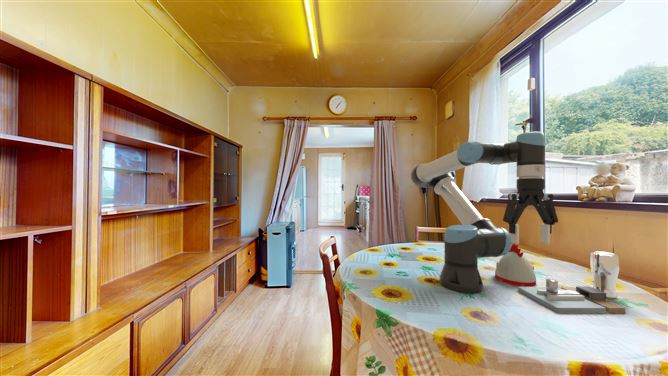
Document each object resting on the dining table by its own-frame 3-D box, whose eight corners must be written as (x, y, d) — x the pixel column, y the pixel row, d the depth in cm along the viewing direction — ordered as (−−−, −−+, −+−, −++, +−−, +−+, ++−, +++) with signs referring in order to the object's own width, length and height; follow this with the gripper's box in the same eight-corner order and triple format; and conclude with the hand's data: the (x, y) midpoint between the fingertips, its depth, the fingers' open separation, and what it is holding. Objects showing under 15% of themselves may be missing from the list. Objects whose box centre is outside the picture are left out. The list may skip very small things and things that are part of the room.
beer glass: (625, 300, 84) (625, 256, 84) (601, 298, 85) (601, 255, 85) (607, 291, 91) (607, 251, 91) (585, 290, 92) (585, 250, 92)
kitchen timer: (518, 274, 109) (518, 240, 109) (545, 286, 95) (545, 248, 95) (487, 274, 109) (487, 241, 109) (511, 286, 95) (511, 248, 95)
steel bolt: (551, 297, 81) (551, 281, 81) (543, 293, 84) (543, 278, 84) (581, 297, 81) (581, 282, 81) (572, 293, 84) (572, 278, 84)
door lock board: (557, 312, 75) (557, 299, 75) (518, 290, 91) (518, 280, 91) (625, 313, 75) (625, 300, 75) (574, 291, 91) (574, 280, 91)
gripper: (505, 177, 79) (505, 245, 79) (573, 177, 79) (573, 245, 79) (490, 178, 87) (490, 240, 87) (552, 178, 87) (552, 241, 87)
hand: (530, 243), depth 83 cm, fingers open, 10 cm apart
